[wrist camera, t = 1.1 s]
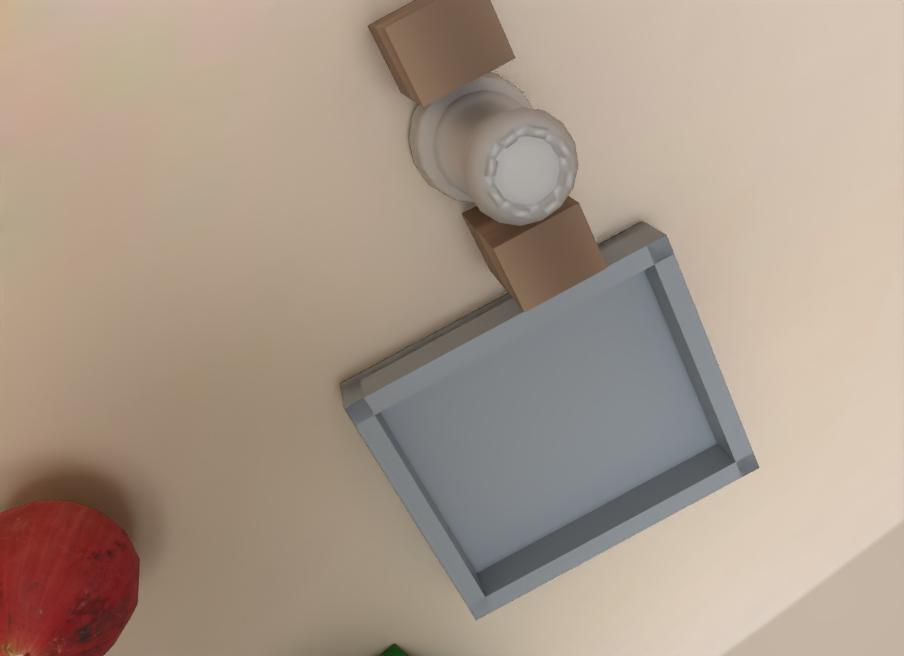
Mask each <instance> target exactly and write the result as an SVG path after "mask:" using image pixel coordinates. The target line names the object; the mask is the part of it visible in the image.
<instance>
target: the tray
mask: <svg viewBox="0 0 904 656" xmlns="http://www.w3.org/2000/svg"><path fill="white" fill-rule="evenodd" d="M597 246H598V248H599V250H600V252H601V255H602V257H603V259H604V262H605V264H606V266H607V269H605V270H603V271H601V272H599V273H597V274H595V275H594V276H592V277H590V278H588V279H586V280H584V281H582V282H581V283H579V284H577V285H575V286H573V287H571V288H569V289H568V290H566V291H564V292H562V293H560V294H558V295H556V296H555V297H553V298H551V299H549V300H547V301H545V302H543V303H542V304H540V305H538V306H536V307H534V308H532V309H530V310H529V311H527V312H524V311H523V310H522V309H521V307H520V306H519V305H518V304H517V302H516V301H515V300H514V299H513V298H512V296H511V295H510V294H509V293H508V294H506V295H504V296H502V297H501V298H499V299H497V300H495V301H493V302H491V303H489V304H488V305H486V306H484V307H482V308H480V309H478V310H476V311H475V312H473V313H471V314H469V315H467V316H465V317H463V318H462V319H460V320H458V321H456V322H454V323H452V324H450V325H449V326H447V327H445V328H443V329H441V330H439V331H437V332H436V333H434V334H432V335H430V336H428V337H426V338H424V339H423V340H421V341H419V342H417V343H415V344H413V345H411V346H410V347H408V348H406V349H404V350H402V351H400V352H398V353H397V354H395V355H393V356H391V357H389V358H387V359H385V360H384V361H382V362H380V363H378V364H376V365H374V366H372V367H371V368H369V369H367V370H365V371H363V372H361V373H359V374H357V375H356V376H354V377H352V378H350V379H348V380H346V381H344V382H343V383H341V384H340V386H341V392H342V398H343V405H344V409H345V411H346V412H347V414H348V415H349V417H350V419H351V420H352V422H353V423H354V425H355V427H356V428H357V430H358V431H359V433H360V435H361V436H362V438H363V440H364V441H365V443H366V444H367V446H368V448H369V449H370V451H371V452H372V454H373V456H374V457H375V459H376V460H377V462H378V464H379V465H380V467H381V468H382V470H383V472H384V473H385V475H386V476H387V478H388V480H389V481H390V483H391V484H392V486H393V488H394V489H395V491H396V492H397V494H398V496H399V497H400V499H401V500H402V502H403V504H404V505H405V507H406V509H407V510H408V512H409V513H410V515H411V517H412V518H413V520H414V521H415V523H416V525H417V526H418V528H419V529H420V531H421V533H422V534H423V536H424V537H425V539H426V541H427V542H428V544H429V545H430V547H431V549H432V550H433V552H434V553H435V555H436V557H437V558H438V560H439V561H440V563H441V565H442V566H443V568H444V569H445V571H446V573H447V574H448V576H449V577H450V579H451V581H452V582H453V584H454V586H455V587H456V589H457V590H458V592H459V594H460V595H461V597H462V598H463V600H464V602H465V603H466V605H467V606H468V608H469V610H470V611H471V613H472V614H473V616H474V618H475V619H476V620H478V619H479V618H481V617H483V616H485V615H487V614H489V613H491V612H492V611H494V610H496V609H498V608H500V607H502V606H503V605H505V604H507V603H509V602H511V601H513V600H515V599H516V598H518V597H520V596H522V595H524V594H526V593H528V592H529V591H531V590H533V589H535V588H537V587H539V586H541V585H542V584H544V583H546V582H548V581H550V580H552V579H554V578H555V577H557V576H559V575H561V574H563V573H565V572H567V571H568V570H570V569H572V568H574V567H576V566H578V565H580V564H581V563H583V562H585V561H587V560H589V559H591V558H593V557H594V556H596V555H598V554H600V553H602V552H604V551H606V550H607V549H609V548H611V547H613V546H615V545H617V544H619V543H620V542H622V541H624V540H626V539H628V538H630V537H631V536H633V535H635V534H637V533H639V532H641V531H643V530H644V529H646V528H648V527H650V526H652V525H654V524H656V523H657V522H659V521H661V520H663V519H665V518H667V517H669V516H670V515H672V514H674V513H676V512H678V511H680V510H682V509H683V508H685V507H687V506H689V505H691V504H693V503H695V502H696V501H698V500H700V499H702V498H704V497H706V496H708V495H709V494H711V493H713V492H715V491H717V490H719V489H721V488H722V487H724V486H726V485H728V484H730V483H732V482H734V481H735V480H737V479H739V478H741V477H743V476H745V475H747V474H748V473H750V472H752V471H754V470H756V469H758V468H759V466H758V463H757V461H756V458H755V456H754V453H753V451H752V448H751V446H750V443H749V440H748V438H747V435H746V433H745V430H744V428H743V425H742V423H741V420H740V418H739V415H738V413H737V410H736V408H735V405H734V403H733V400H732V398H731V395H730V393H729V390H728V388H727V385H726V383H725V380H724V378H723V375H722V373H721V370H720V368H719V365H718V363H717V360H716V358H715V355H714V353H713V350H712V348H711V345H710V343H709V340H708V338H707V335H706V333H705V330H704V328H703V325H702V323H701V320H700V318H699V315H698V313H697V310H696V308H695V305H694V303H693V300H692V298H691V295H690V293H689V290H688V288H687V285H686V283H685V280H684V278H683V275H682V273H681V270H680V268H679V265H678V263H677V260H676V258H675V255H674V253H673V250H672V248H671V245H670V243H669V240H668V238H667V235H666V234H664V233H662V232H660V231H659V230H657V229H655V228H653V227H652V226H650V225H648V224H647V223H645V222H643V221H642V222H640V223H638V224H636V225H634V226H633V227H631V228H629V229H627V230H625V231H623V232H621V233H620V234H618V235H616V236H614V237H612V238H610V239H608V240H607V241H605V242H603V243H601V244H599V245H597Z"/></svg>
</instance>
